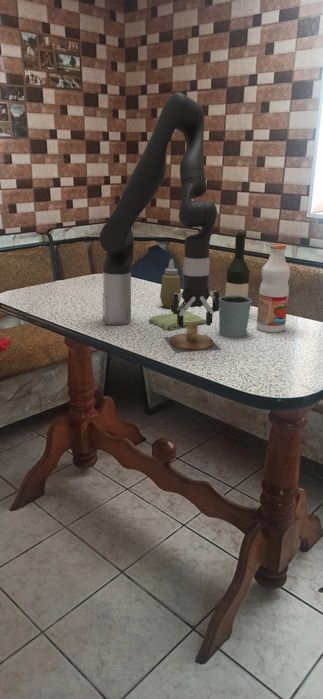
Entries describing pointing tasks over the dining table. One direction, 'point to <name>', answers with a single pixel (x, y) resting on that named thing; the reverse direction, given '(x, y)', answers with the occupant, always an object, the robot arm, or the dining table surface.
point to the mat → (190, 350)
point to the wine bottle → (238, 270)
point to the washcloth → (175, 320)
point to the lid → (191, 339)
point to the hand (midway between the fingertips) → (194, 326)
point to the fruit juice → (274, 291)
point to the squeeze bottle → (170, 285)
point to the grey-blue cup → (233, 316)
